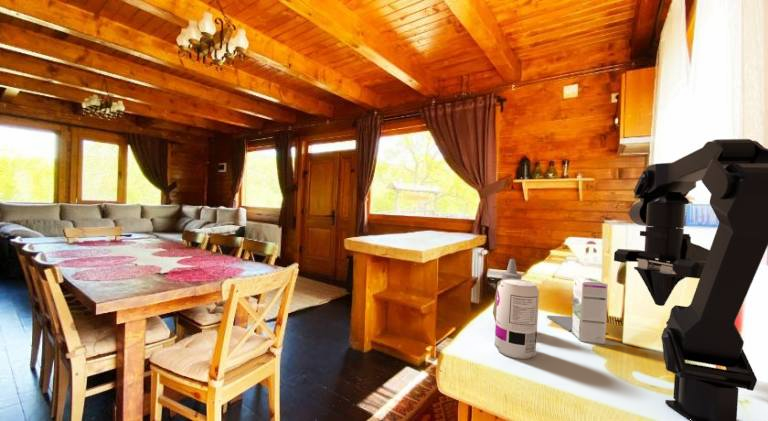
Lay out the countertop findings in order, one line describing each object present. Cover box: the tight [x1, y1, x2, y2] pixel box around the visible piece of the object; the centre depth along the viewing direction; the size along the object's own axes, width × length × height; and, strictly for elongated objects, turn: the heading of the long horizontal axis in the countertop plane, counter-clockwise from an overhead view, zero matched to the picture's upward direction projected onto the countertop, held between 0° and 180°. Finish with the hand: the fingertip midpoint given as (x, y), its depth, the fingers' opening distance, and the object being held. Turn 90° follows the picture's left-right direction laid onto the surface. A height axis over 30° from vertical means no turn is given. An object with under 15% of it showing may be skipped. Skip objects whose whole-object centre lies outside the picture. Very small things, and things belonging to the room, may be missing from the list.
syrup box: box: [571, 277, 609, 345], centre depth 79 cm, size 6×6×14 cm
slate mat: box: [546, 315, 572, 333], centre depth 88 cm, size 11×10×1 cm
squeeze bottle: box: [492, 258, 522, 324], centre depth 82 cm, size 8×8×18 cm
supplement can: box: [494, 278, 540, 360], centre depth 69 cm, size 8×8×15 cm
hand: (659, 305), depth 64 cm, fingers closed
